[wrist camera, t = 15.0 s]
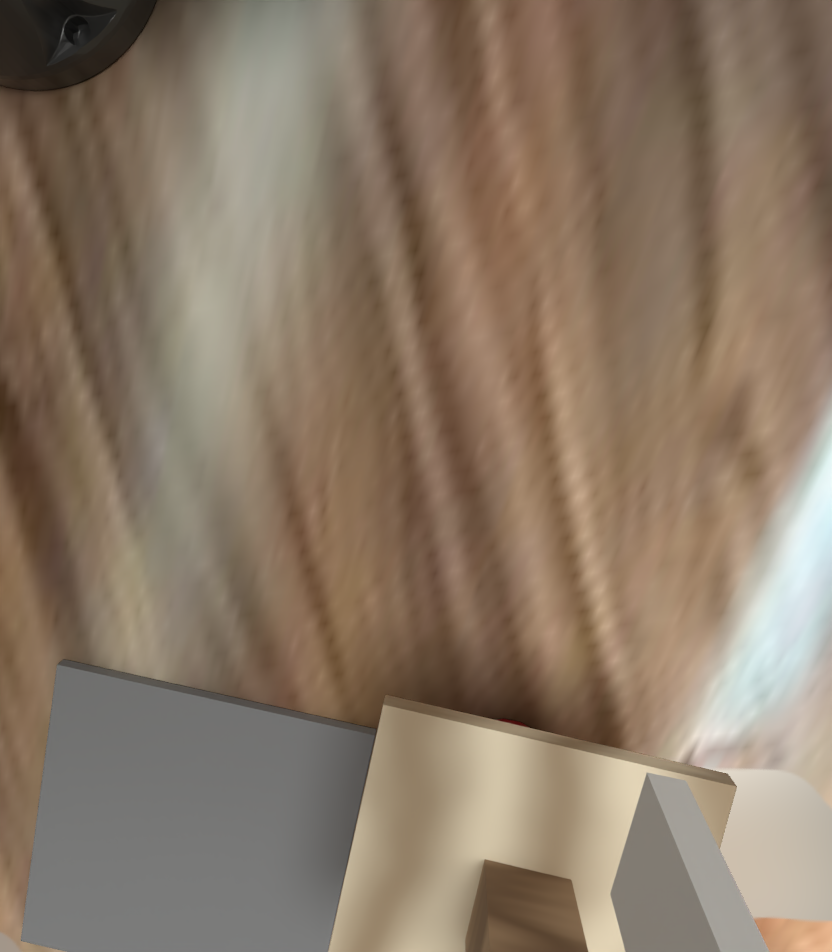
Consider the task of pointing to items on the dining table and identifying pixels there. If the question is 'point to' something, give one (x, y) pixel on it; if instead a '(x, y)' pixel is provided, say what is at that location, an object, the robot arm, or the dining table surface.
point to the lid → (495, 836)
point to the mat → (189, 820)
